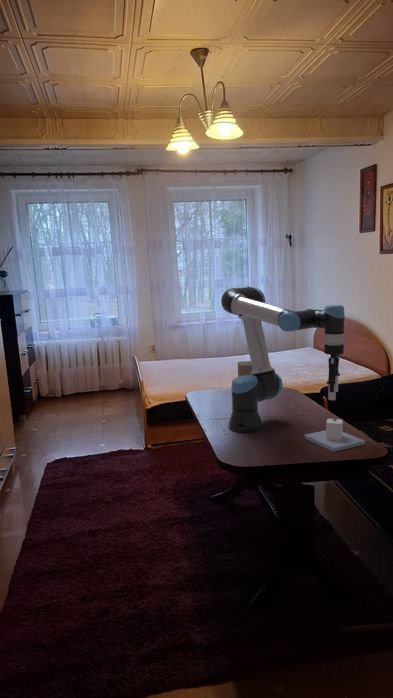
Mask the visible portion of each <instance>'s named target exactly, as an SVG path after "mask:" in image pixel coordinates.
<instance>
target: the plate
mask: <svg viewBox="0 0 393 698" xmlns="http://www.w3.org/2000/svg"><path fill="white" fill-rule="evenodd" d="M304 439H305V440H308V441H310V442H311V443H314V444H316V445H317V446H320V447H323V448H325V449H327V450H329V451H331V452H334V453H335V452H338V451H342V450H343V451H344V450H348V449H352V448H356V447H361V446H364V445H366V440H365V439H362V438H360V437H357V436H355V435H352V434H350V433H346V432H344V431H343V434H342V441H338V440H327V439H326V429H325V430H321V431H317V432H316V431H315V432H311V433H306V434H304Z"/></svg>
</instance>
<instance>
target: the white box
mask: <svg viewBox="0 0 393 698" xmlns="http://www.w3.org/2000/svg"><path fill="white" fill-rule="evenodd" d="M343 425H344V424H343V419H339V418H336V417H333V418H327V420H326V423H325V430H326V439H327V440H338V441H342V434H343V432H344V429H343Z"/></svg>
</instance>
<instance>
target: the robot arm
mask: <svg viewBox="0 0 393 698" xmlns="http://www.w3.org/2000/svg"><path fill="white" fill-rule="evenodd" d="M220 301H221V307H222V308H223V310H224V311H226V312H227V313H228V314H233V315H235V316H238V318H239V320H241V321H242V324H243V329H244V333H245V339H246V344H247V347H248V348H247V349H248V353H249V359H250V361H251V364H252V369H253V370H252V372H251V373H250V375H245V376H239V377H238V376H236V377H235V378H233V379H232V381H231V404H232V405H231V407H232V409H231V413H230V417H229V422H228V428H229V430H231V431H233V432H236V433H255V432H258V431H260V430H261V429H263V422H262V419H261V416H260V413H259V403H261V402H264V401H267V400H268V401H269V400H272V399H274V398H277V397H278V396H279V395H280V394H281V393H282V391H283V385H284V383H283V380H282V377H281V376H280V375H279V374H278V373H276V372H275V371H276V370H275V368H273V367H272V365H271V362H270V357H269V352H268V348H267V344H266V343H267V342H266V337H265V332H264V328H263V322H264V323H267V324H271V325H274V326H276V327H279V328H280V330H282V331H283V332H290V333H291V332H296V331H301V330H308V329H324V334H323V342H324V345H323V346H324V347H323V348H324V349H323V351H324V354H325V355H330V357H328V361H327V362H328V377H327V378H328V381H326V385H328V386H327V387H328V389H327V391H328V392H327V394H328V396H327V400H329V401H336V398H337V397H336V395H337V393H339V377H341V373H339V365H340V357H339V356H340V355H343V354H344V352H345V345H344V343H345V339H346V335H345V318H346V314H345V307H344V306H343V305H342V304H341V305H340V304H327V305H326V306H324V309H312V308H308V309H307V308H306V309H301V310H297V311H296V310H292V309H291V310H290V309H287V308H284V307H279V306H276V305H273V304H269V303H267V302H266V297H265V293H264V292H263V291H262V290H261V289H260V288H258V287H254V286H253V287H252V286H246V287H231V288H229V289H226V290H225V291H224V292H223V294H222V296H221V299H220Z"/></svg>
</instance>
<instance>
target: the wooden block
mask: <svg viewBox="0 0 393 698" xmlns="http://www.w3.org/2000/svg"><path fill="white" fill-rule="evenodd" d="M252 370H253V369H252V364H251V360H243V361H238V362H237V377H239V376H245V375H250V373H251V372H252Z"/></svg>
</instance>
